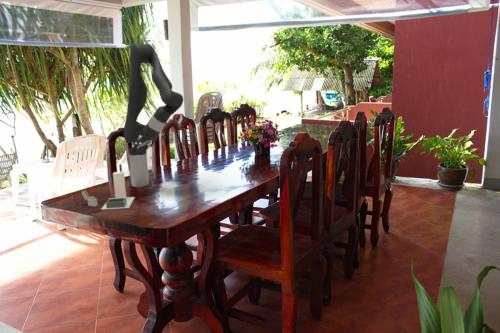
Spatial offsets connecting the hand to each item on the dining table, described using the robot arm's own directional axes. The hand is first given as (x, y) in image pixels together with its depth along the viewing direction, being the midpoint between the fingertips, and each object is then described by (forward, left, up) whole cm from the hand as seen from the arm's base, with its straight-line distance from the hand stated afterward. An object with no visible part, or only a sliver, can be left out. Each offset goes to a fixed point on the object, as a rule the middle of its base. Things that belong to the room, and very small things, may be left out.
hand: (137, 152), depth 216 cm
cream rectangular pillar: (+5, -13, -20) cm, 25 cm away
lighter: (+4, -27, -21) cm, 35 cm away
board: (+10, -16, -21) cm, 29 cm away
